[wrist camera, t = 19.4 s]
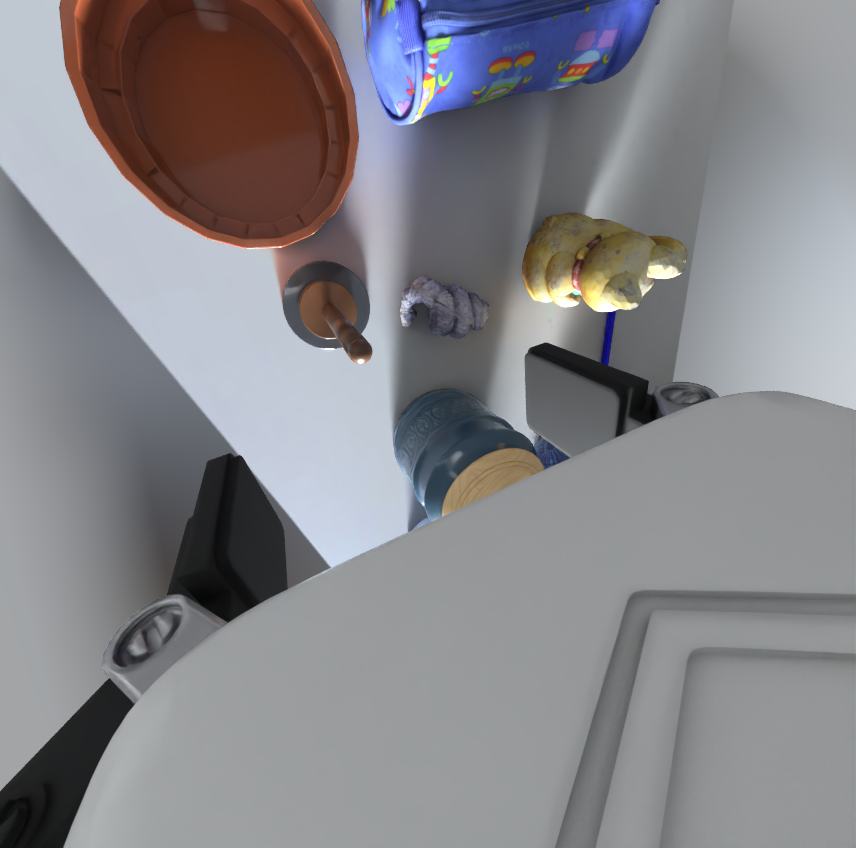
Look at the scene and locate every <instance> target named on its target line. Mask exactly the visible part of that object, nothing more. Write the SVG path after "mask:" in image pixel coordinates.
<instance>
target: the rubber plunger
mask: <svg viewBox="0 0 856 848" xmlns="http://www.w3.org/2000/svg"><path fill="white" fill-rule="evenodd" d="M298 305H299V312H300V315H301V318H302V321H303V323H304V324H305V326H306V327H307V328H308V329H309V330H310V331H311V332H312V333H313V334H315V335H317V336H319V337H322V338H326V339H335V338H337V339H338V340H339V342H340V343H341V345H342V346H343V348H344V350H345V351H346V353H347V354H348V356H349V357H350V359H351V360H352V361H353V362H355V363H358V364H363V363H366V362H367V361H369V360H370V358H371V356H372V347H371V345H370V344H369V343H368V341H367V340H366V339H365V338H364V337H363V336H362V335H361V334H360V333H359V332H358V331H357V329H356V328H355V327H354V326H353V325H354V323H355V321H356V317H357V307H356V303H355V300H354V298H353V296H352V295H351V293H350V292H349V291H348V290H347V289H346V288H345V287H343V286H342V285H340V284H339V283H337V282H335V281H332V280H328V279H320V280H316V281H313V282H311V283H310V284H308V285H307V286H306V287H305V288H304V289H303V291H302V292H301V295H300V297H299V303H298Z"/></svg>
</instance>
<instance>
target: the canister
mask: <svg viewBox="0 0 856 848" xmlns="http://www.w3.org/2000/svg"><path fill="white" fill-rule="evenodd" d="M393 446H394V452H395V457H396V460H397V462H398V464H399V466H400V468H401V469H402V471H403V472H404V474H405V475H406V476H407V477H408V479H409V481H410V483H411V484H412V486H413V489H414V492H415V495H416V497H417V499H418V500H419V502H420V503H421V504H422V505H423V506H424V507H425V511H426V514H427V516H428V518H429V520H430V522H431V521H434V520H436V519H438V518H440V517H442V516H445V515H447V514H449V513H451V512H453V511H455V510H458V509H460V508H462V507H464V506H466V505H469V504H471V503H473V502H475V501H477V500H479V499H482V498H484V497H486V496H488V495H490V494H493V493H495V492H497V491H499V490H501V489H503V488H506V487H508V486H510V485H512V484H514V483H517V482H519V481H521V480H523V479H525V478H528V477H530V476H532V475H534V474H536V473H539V472H541V471H543V470H544V467H543V465H542V463H541V461H540V460H539V459H538V458H537V453H536V450H535V448H534V446H533V444H532V443H531V441H530V440H529V439H528V438H527V437H526V436H524V435H523V434H521V433H519V432H517V431H515V430H514V429H513V427H512V426H511V425H510V424H509V423H508V422H507V421H505V420H504V419H502V418H500V417H498V416H496V415H495V414H493V413H492V412H491V411H490V410H488V409H487V408H486V407H485V405H484V404H483V403H482V402H481V401H480V400H478V399H477V398H475V397H474V396H472V395H471V394H469V393H466V392H463V391H460V390H456V389H438V390H434V391H431V392H428V393H426V394H424V395H422V396H420V397H419V398H417V399H416V400H415V401H413V402H412V403H411V404H410V405H409V406H408V407H407V408H406V409H405V411H404V412H403V413H402V415H401V416H400V418H399V420H398V422H397V424H396V427H395V431H394V436H393Z"/></svg>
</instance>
